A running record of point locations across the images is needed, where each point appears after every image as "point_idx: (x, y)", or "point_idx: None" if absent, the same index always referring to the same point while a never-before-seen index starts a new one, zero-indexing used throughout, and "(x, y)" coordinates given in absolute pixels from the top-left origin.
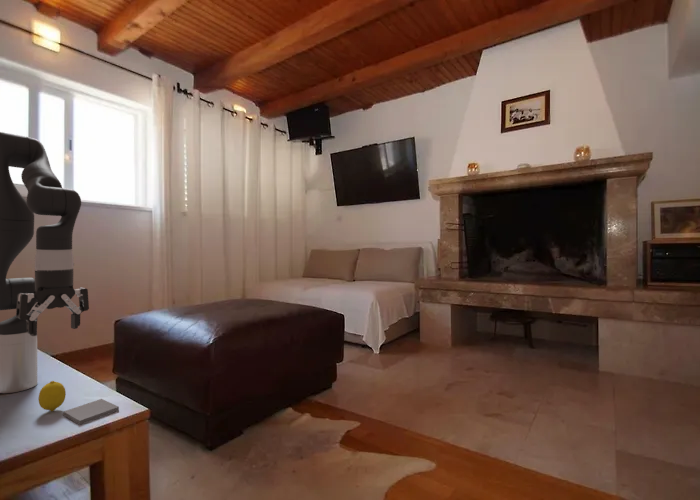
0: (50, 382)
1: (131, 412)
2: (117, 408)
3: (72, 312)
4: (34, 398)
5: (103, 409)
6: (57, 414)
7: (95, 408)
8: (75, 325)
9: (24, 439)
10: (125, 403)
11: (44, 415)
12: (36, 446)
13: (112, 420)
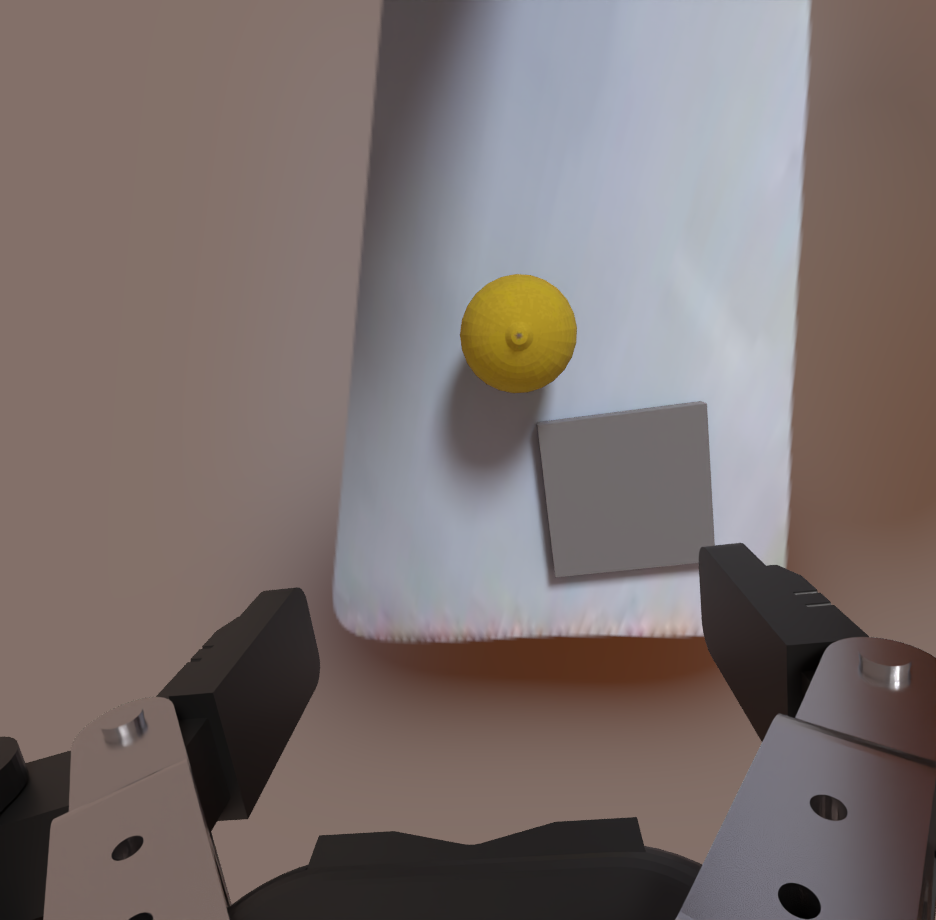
0: (509, 340)
1: None
2: None
3: (823, 670)
4: (497, 56)
5: (659, 540)
6: None
7: (641, 502)
8: (726, 671)
9: (388, 540)
10: (764, 500)
11: None
12: (408, 625)
13: (651, 626)
